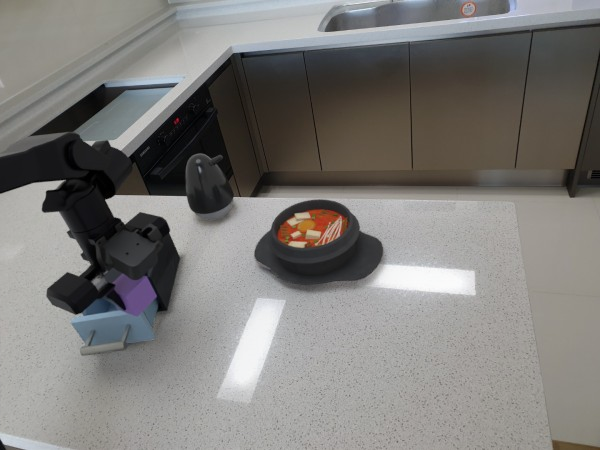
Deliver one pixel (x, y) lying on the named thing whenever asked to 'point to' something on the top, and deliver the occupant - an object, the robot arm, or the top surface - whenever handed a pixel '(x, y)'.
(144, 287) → the block
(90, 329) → the blue drawer
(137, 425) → the top surface
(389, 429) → the top surface
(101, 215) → the robot arm
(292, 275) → the casserole
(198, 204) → the pump dispenser
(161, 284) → the black drawer cabinet
